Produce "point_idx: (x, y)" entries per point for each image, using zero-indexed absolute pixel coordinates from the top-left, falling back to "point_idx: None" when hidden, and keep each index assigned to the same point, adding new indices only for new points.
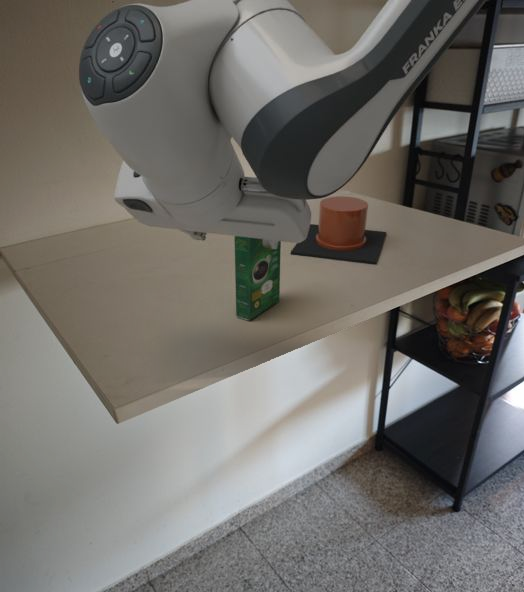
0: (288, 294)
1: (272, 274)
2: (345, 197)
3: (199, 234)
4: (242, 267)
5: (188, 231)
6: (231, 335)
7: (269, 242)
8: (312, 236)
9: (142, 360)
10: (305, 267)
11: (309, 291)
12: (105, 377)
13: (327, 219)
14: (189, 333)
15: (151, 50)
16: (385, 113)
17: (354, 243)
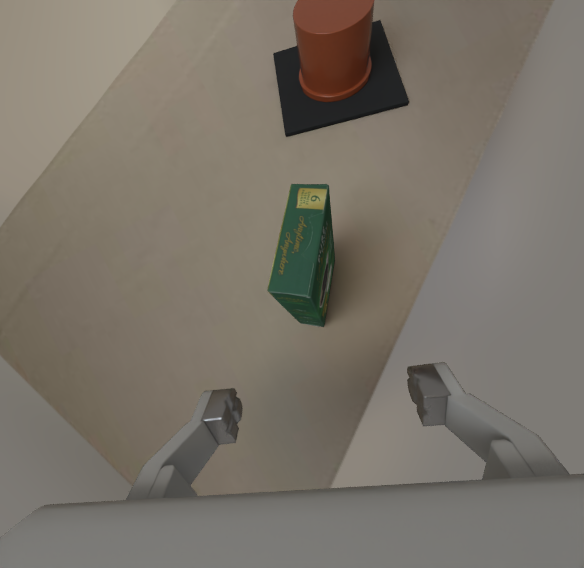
0: (336, 235)
1: (330, 259)
2: None
3: (232, 441)
4: (301, 311)
5: (203, 465)
6: (318, 371)
7: (454, 432)
8: (292, 82)
9: (241, 484)
10: (321, 158)
11: (358, 214)
12: None
13: (320, 54)
14: (264, 391)
15: None
16: None
17: (362, 76)
